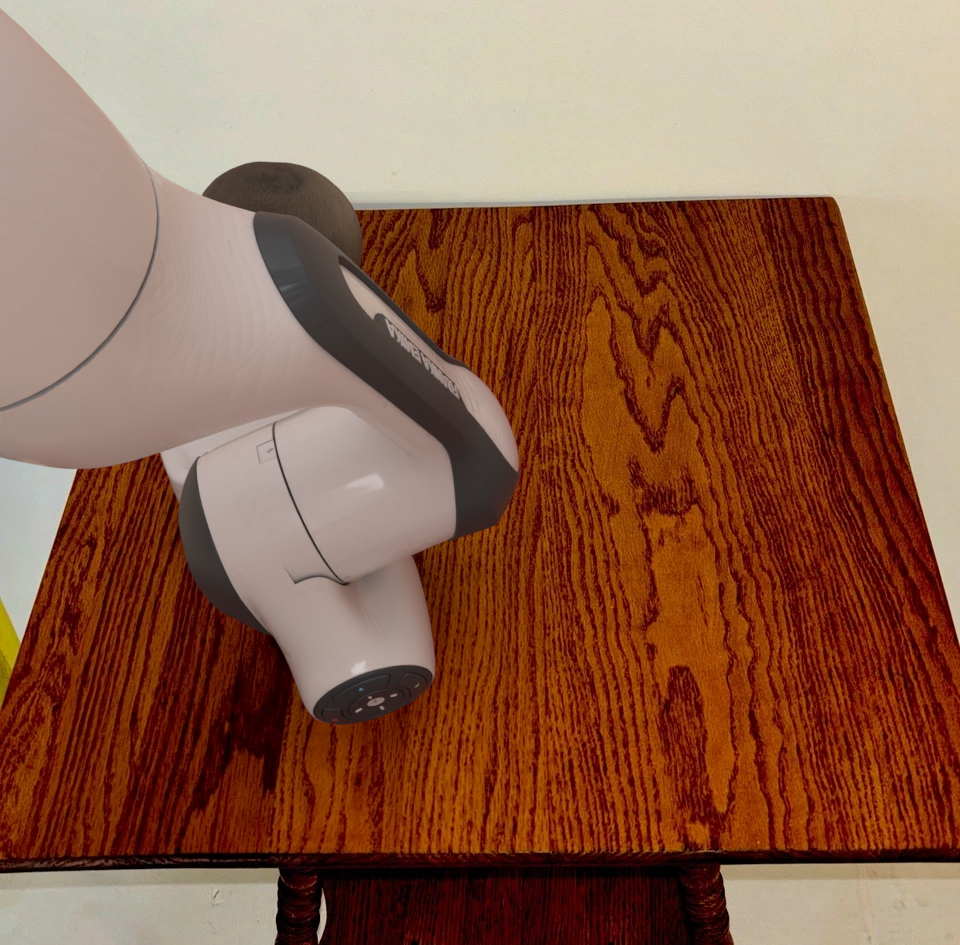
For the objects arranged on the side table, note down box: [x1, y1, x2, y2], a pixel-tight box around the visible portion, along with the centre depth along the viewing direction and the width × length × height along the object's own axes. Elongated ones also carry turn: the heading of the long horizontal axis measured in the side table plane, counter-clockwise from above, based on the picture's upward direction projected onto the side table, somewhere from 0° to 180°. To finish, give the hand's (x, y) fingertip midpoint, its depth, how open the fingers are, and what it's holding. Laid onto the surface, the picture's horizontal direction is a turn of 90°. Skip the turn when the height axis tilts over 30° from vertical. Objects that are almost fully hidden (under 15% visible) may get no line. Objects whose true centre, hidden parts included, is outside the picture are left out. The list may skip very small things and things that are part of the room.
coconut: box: [201, 160, 364, 269], centre depth 85 cm, size 14×14×15 cm
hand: (292, 368), depth 77 cm, fingers closed on vegetable, 6 cm apart
